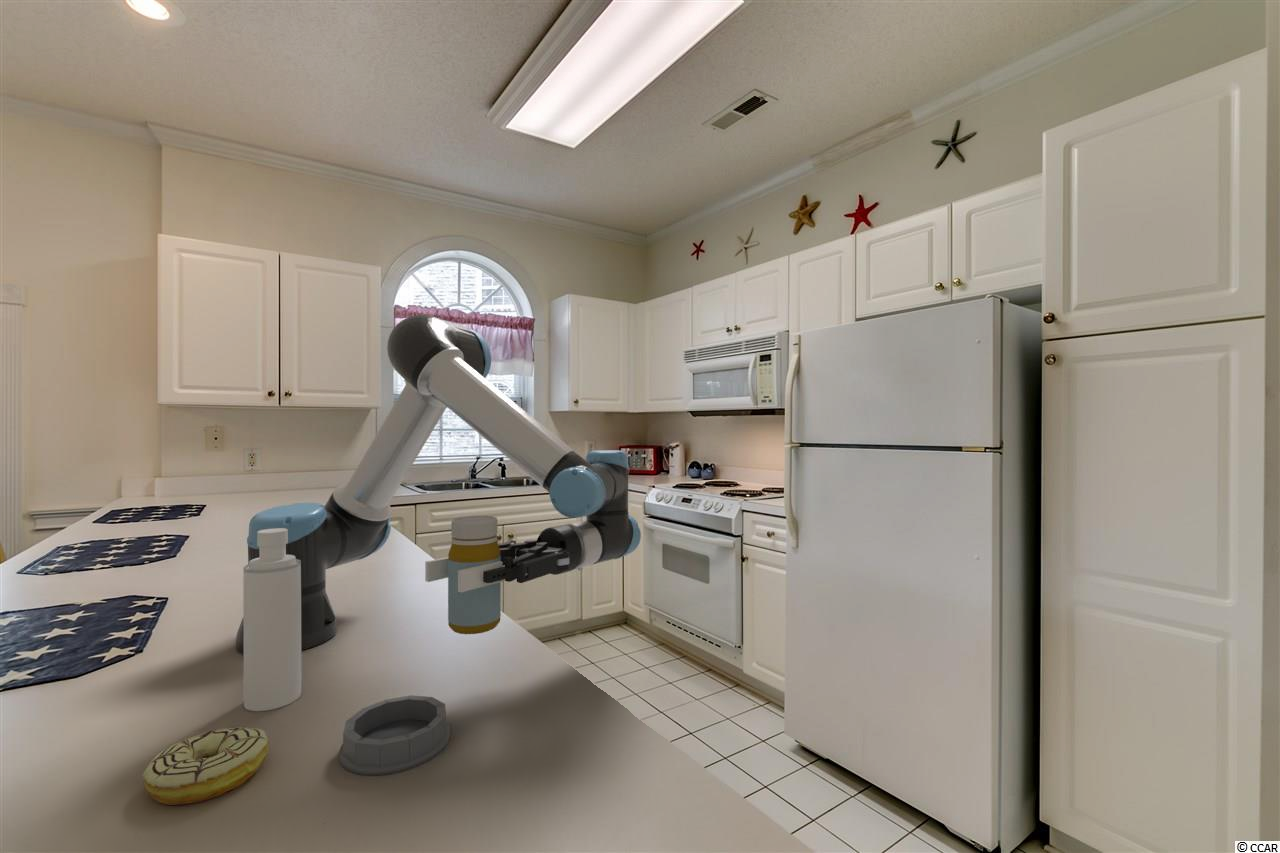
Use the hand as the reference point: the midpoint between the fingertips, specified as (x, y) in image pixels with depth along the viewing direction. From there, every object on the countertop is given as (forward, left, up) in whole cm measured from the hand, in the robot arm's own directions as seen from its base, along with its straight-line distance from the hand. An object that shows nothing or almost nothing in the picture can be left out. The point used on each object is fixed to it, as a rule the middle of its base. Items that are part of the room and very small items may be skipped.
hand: (442, 576), depth 75 cm
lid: (+3, -8, -18) cm, 20 cm away
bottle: (0, +5, -8) cm, 10 cm away
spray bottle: (-21, -13, -18) cm, 31 cm away
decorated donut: (-7, -24, -18) cm, 31 cm away
